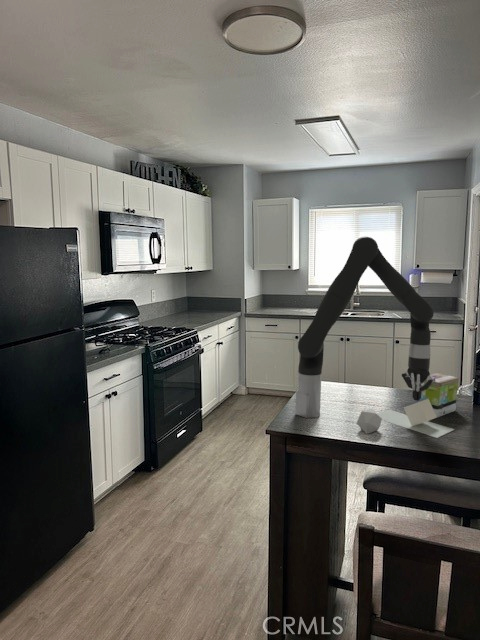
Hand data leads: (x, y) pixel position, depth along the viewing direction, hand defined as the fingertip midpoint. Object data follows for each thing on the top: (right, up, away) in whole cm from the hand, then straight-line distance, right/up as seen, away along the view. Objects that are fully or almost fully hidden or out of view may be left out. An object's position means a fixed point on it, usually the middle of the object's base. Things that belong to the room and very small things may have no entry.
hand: (416, 399), depth 177 cm
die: (-20, -11, -6) cm, 24 cm away
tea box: (+14, -8, +16) cm, 23 cm away
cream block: (0, -1, 0) cm, 1 cm away
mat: (-1, -9, +2) cm, 10 cm away
